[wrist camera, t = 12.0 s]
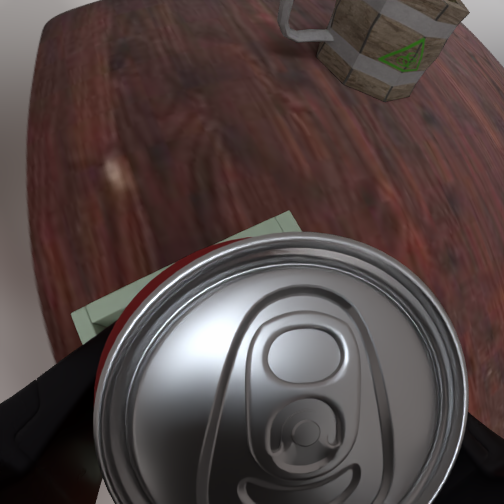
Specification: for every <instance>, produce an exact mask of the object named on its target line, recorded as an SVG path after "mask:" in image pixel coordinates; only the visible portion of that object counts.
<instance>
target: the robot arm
mask: <svg viewBox="0 0 504 504" xmlns="http://www.w3.org/2000/svg"><path fill="white" fill-rule="evenodd" d="M115 323H116V321H115V322H114V323H112V324H111V325H110V326H108V327H107V328H105V329H104V330H103V331H101V332H100V333H98V334H97V335H96V336H94V337H93V338H91V339H90V340H89V341H87V342H86V343H85V344H83V345H82V346H80V347H79V348H78V349H76V350H75V351H74V352H72V353H71V354H69V355H68V356H67V357H65V358H64V359H63V360H61V361H60V362H58V363H57V364H56V365H54V366H53V367H52V368H50V369H49V370H48V371H46V372H45V373H44V374H42V375H41V376H40V377H38V378H37V380H34V381H33V382H31V383H30V384H29V385H27V386H26V387H25V388H23V389H22V390H20V391H19V392H17V393H16V394H15V395H13V396H12V397H10V398H9V399H7V400H6V401H4V402H2V403H1V404H0V504H95V503H96V499H97V496H98V492H99V488H100V485H101V481H102V478H103V477H102V474H101V471H100V468H99V464H98V460H97V456H96V450H95V442H94V428H93V417H94V387H95V380H96V373H97V369H98V365H99V361H100V357H101V354H102V351H103V349H104V346H105V344H106V341H107V339H108V337H109V335H110V333H111V331H112V329H113V327H114V325H115ZM432 504H504V439H503V438H501V437H500V436H498V435H497V434H496V433H494V432H493V431H492V430H490V429H489V428H487V427H486V426H485V425H484V424H482V423H481V422H480V421H479V420H477V419H476V418H475V417H474V416H472V415H471V414H470V413H469V412H468V414H467V422H466V427H465V433H464V437H463V441H462V444H461V448H460V451H459V454H458V457H457V459H456V462H455V465H454V467H453V469H452V471H451V473H450V475H449V478H448V479H447V481H446V483H445V485H444V487H443V488H442V490H441V492H440V493H439V495H438V496H437V498H436V499H435V501H434V502H433V503H432Z"/></svg>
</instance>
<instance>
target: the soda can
mask: <svg viewBox="0 0 504 504" xmlns="http://www.w3.org/2000/svg"><path fill="white" fill-rule="evenodd" d="M467 414H468V377H467V370H466V364H465V359H464V355H463V351H462V347H461V344H460V341H459V339H458V336H457V333H456V331H455V328H454V326H453V324H452V322H451V320H450V318H449V316H448V315H447V313H446V311H445V310H444V308H443V306H442V305H441V303H440V302H439V301H438V299H437V298H436V297H435V295H434V294H433V293H432V291H431V290H430V289H429V288H428V287H427V286H426V285H425V284H424V283H423V281H422V280H421V279H420V278H418V277H417V276H416V275H415V274H414V273H413V272H412V271H411V270H409V269H408V268H407V267H405V266H404V265H403V264H401V263H400V262H399V261H397V260H396V259H394V258H392V257H391V256H389V255H387V254H385V253H384V252H382V251H380V250H378V249H376V248H373V247H371V246H369V245H367V244H364V243H361V242H358V241H355V240H352V239H349V238H345V237H341V236H336V235H332V234H324V233H316V232H283V233H272V234H267V235H261V236H255V237H245V238H240V239H234V240H229V241H225V242H222V243H218V244H215V245H212V246H209V247H207V248H204V249H201V250H199V251H196V252H194V253H192V254H190V255H188V256H186V257H184V258H182V259H181V260H179V261H177V262H176V263H174V264H173V265H171V266H169V267H168V268H166V269H165V270H164V271H162V272H161V273H160V274H158V275H157V276H156V277H155V278H153V279H152V280H151V281H150V282H149V283H148V284H147V285H146V286H145V287H144V288H143V289H142V290H141V291H140V292H138V293H137V295H136V296H135V297H134V298H133V299H132V301H131V302H130V303H129V304H128V305H127V307H126V308H125V309H124V311H123V312H122V314H121V315H120V317H119V318H118V320H117V321H116V323H115V325H114V327H113V329H112V331H111V333H110V335H109V337H108V339H107V341H106V344H105V346H104V349H103V351H102V354H101V357H100V361H99V365H98V369H97V373H96V380H95V387H94V417H93V428H94V442H95V450H96V456H97V460H98V464H99V468H100V471H101V474H102V477H103V479H104V482H105V485H106V487H107V490H108V492H109V493H110V495H111V497H112V499H113V501H114V503H115V504H432V503H433V502H434V501H435V499H436V498H437V496H438V495H439V493H440V492H441V490H442V488H443V487H444V485H445V483H446V481H447V479H448V478H449V475H450V473H451V471H452V469H453V467H454V465H455V462H456V459H457V457H458V454H459V451H460V448H461V444H462V441H463V437H464V433H465V427H466V422H467Z"/></svg>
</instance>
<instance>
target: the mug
mask: <svg viewBox="0 0 504 504" xmlns="http://www.w3.org/2000/svg"><path fill="white" fill-rule="evenodd" d="M292 4H293V0H281V1H280V6H279V12H278V24H279V27H280V29H281V32H282V34H283V36H284V37H286V38H288V39H291V40H293V41H295V42H297V43H299V42H320V43H319V47H318V51H317V55H316V57H317V58H318V59H319V60H320V61H321V62H322V63H323V64H324V65H325V66H326V67H327V68H328V69H329V70H330V71H331V72H332V73H333V74H334V75H335V76H336V77H337V78H338V79H339V80H340V81H341V82H342V83H343V84H344V85H347V86H349V87H351V88H354V89H356V90H359V91H361V92H363V93H366V94H368V95H370V96H372V97H375V98H377V99H379V100H381V101H383V102H387V101H391V100H396V99H400V98H405V97H409V96H410V94H411V92H412V90H413V88H414V86H415V85H416V83H417V81H418V80H419V79H420V77H421V76H422V74H423V73H424V72H425V70H426V69H427V68H428V67H429V66H430V65H431V64H432V63H433V62H434V61H435V59H436V58H437V57H438V56H439V54H440V52H441V50H442V49H443V47H444V45H445V43H446V41H447V39H448V38H449V37H450V35H451V34H452V32H453V31H454V29H455V28H456V27H457V25H458V24H459V23H460V22H461V21H462V20H463V19H464V18H465V17H466V16H467V15H468V14H469V13H470V12H469V11H468V10H467V8H466V7H465V5H464V4H463V3H462V2H461V0H336V4H335V8H334V12H333V14H332V17H331V19H330V22H329V24H328V26H327V28H326V30H321V29H308V30H300V31H295V30H293V29H291V28H289V24H288V20H289V15H290V11H291V8H292Z"/></svg>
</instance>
